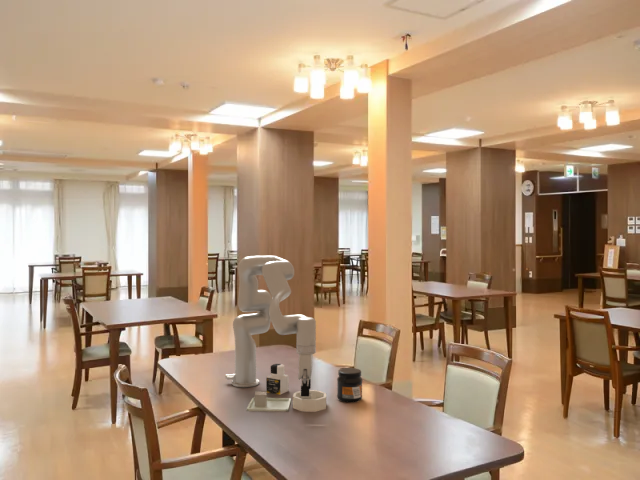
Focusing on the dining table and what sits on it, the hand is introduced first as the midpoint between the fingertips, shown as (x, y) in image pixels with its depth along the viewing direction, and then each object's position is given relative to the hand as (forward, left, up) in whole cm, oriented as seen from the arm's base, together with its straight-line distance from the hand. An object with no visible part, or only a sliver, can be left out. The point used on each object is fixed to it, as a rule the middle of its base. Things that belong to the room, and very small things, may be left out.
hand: (305, 392), depth 215 cm
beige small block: (-18, +2, -6) cm, 19 cm away
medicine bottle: (-14, +21, -6) cm, 25 cm away
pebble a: (0, 0, -5) cm, 5 cm away
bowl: (+1, +2, -6) cm, 7 cm away
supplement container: (+17, +13, -7) cm, 22 cm away
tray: (-15, +2, -6) cm, 16 cm away
